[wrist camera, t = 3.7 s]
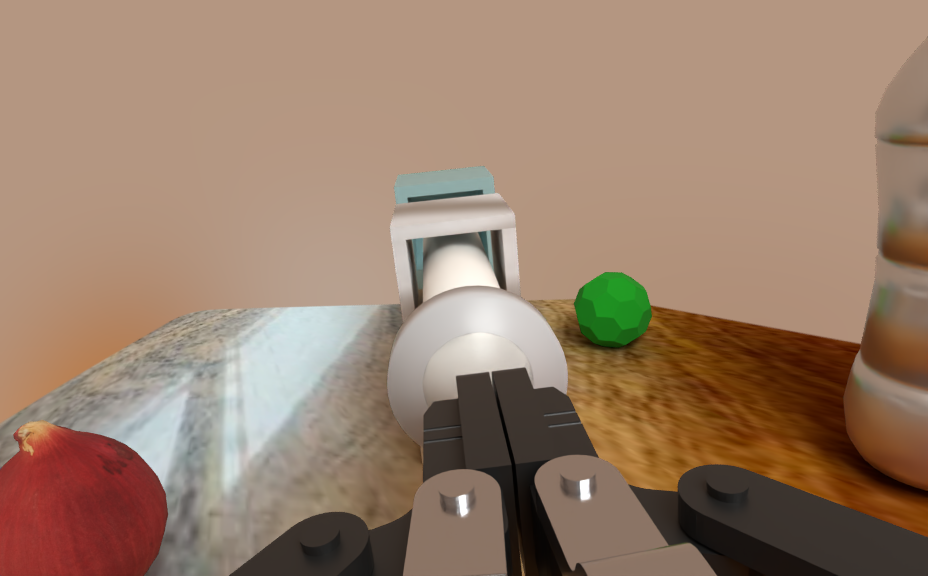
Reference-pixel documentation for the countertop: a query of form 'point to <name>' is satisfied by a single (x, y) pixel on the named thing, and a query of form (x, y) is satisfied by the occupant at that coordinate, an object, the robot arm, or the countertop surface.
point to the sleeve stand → (452, 220)
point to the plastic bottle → (897, 291)
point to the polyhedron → (612, 310)
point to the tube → (465, 333)
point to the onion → (78, 506)
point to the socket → (443, 188)
